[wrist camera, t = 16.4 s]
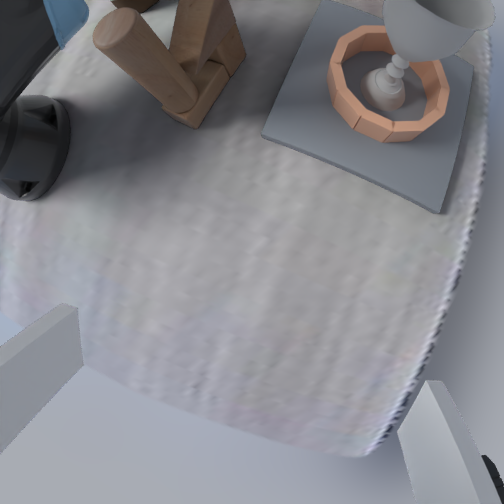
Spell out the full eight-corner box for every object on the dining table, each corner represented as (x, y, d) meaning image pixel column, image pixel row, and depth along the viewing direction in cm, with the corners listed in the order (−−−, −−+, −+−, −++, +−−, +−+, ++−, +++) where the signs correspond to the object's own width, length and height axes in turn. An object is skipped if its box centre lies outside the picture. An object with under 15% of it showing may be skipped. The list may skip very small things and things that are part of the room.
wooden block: (247, 55, 32) (210, -55, 14) (197, 131, 33) (114, 55, 15) (221, 45, 32) (171, -59, 14) (171, 118, 33) (80, 45, 16)
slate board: (262, 137, 32) (260, 133, 31) (322, 4, 30) (322, -2, 29) (433, 213, 30) (439, 212, 29) (468, 70, 28) (473, 66, 27)
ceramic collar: (312, 113, 30) (314, 98, 26) (346, 29, 29) (350, 10, 25) (419, 161, 29) (434, 153, 25) (442, 73, 27) (455, 58, 24)
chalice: (340, 98, 29) (375, -15, 12) (362, 52, 29) (399, -63, 11) (403, 131, 29) (491, 51, 11) (421, 83, 28) (497, -9, 10)
